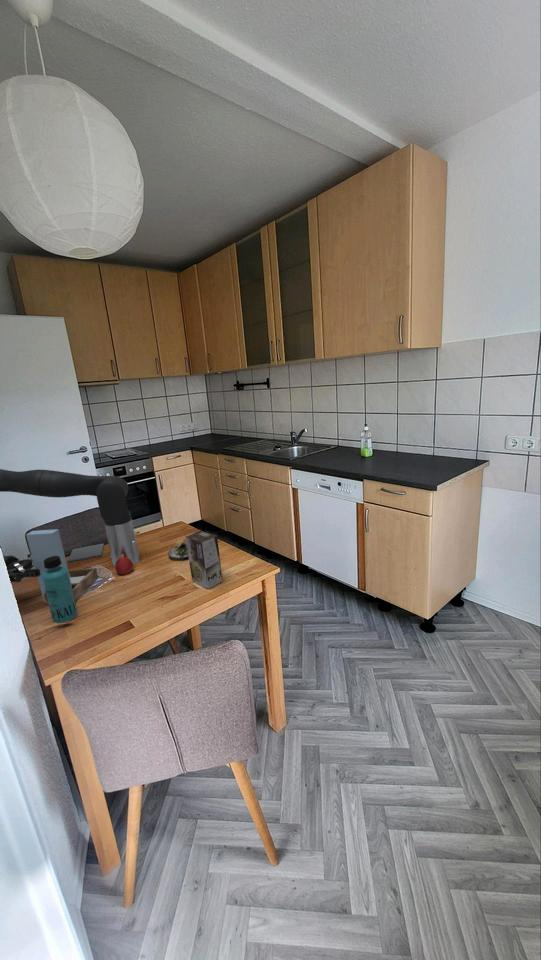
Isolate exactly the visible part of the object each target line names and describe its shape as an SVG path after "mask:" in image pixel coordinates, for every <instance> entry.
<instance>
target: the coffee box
mask: <svg viewBox="0 0 541 960" xmlns="http://www.w3.org/2000/svg"><path fill="white" fill-rule="evenodd" d="M184 538H185V544H186V545H187V551H188V557H187V558H188V563H189V570H190V574H191V582H193V583H195V584H197V585H199V586H201V587H203V588H206V589H207V588H208V589H207V590H209V588H210V589H211V588H214V587H215V586H217V585H218V583H219V584H220V582H221V583H223V581H224V580H223V573H222V564H221V556H220V550H219V549H220V548H219V540H218V535H216V534H212V533H209V532H206V531H203V530H198V531H195V532H192V533H191V534H189V535H186V536H185V537H184ZM216 584H217V585H216Z"/></svg>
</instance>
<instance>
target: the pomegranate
mask: <svg viewBox="0 0 541 960" xmlns="http://www.w3.org/2000/svg"><path fill="white" fill-rule="evenodd" d="M133 568H134V564H133V563H132V561H131V559H129V558H128V557H125V556H124V554H123V555H121V557H120V558H119V559H118V560H117V561H116V564H115V567H114V569H115V572H116V573H117V574H119V575H122V576H123V575H125V576H126V575H127V574H130V573H132V570H133Z"/></svg>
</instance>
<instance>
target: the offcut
mask: <svg viewBox="0 0 541 960" xmlns="http://www.w3.org/2000/svg"><path fill="white" fill-rule="evenodd" d="M84 577H85V576H79V577H73V578H71V577H70V580H71V583H79V582H80V581H81V580H82V579H83V578H84Z"/></svg>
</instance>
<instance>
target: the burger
mask: <svg viewBox="0 0 541 960" xmlns="http://www.w3.org/2000/svg"><path fill="white" fill-rule="evenodd" d="M184 541H185V540H184V539H178V540H176V542H175V543H174V545H173V546H174V547H172V548H170V549H169V551H167V554H168V559H169V560H170V561H173V562H183V561H184V559H185V558H188V551H187V545H186V542H184Z"/></svg>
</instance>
